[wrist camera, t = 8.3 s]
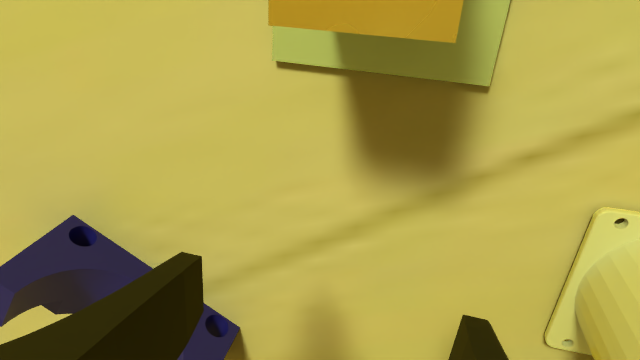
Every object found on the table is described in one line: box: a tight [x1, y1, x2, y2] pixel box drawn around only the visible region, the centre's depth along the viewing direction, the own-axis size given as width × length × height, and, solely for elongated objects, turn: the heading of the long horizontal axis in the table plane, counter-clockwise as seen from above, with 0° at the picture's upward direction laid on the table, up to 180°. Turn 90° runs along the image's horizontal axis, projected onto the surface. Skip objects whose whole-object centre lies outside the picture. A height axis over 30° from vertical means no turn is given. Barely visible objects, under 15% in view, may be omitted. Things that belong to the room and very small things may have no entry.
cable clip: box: [0, 215, 240, 360], centre depth 25 cm, size 12×4×6 cm, turn 55°
